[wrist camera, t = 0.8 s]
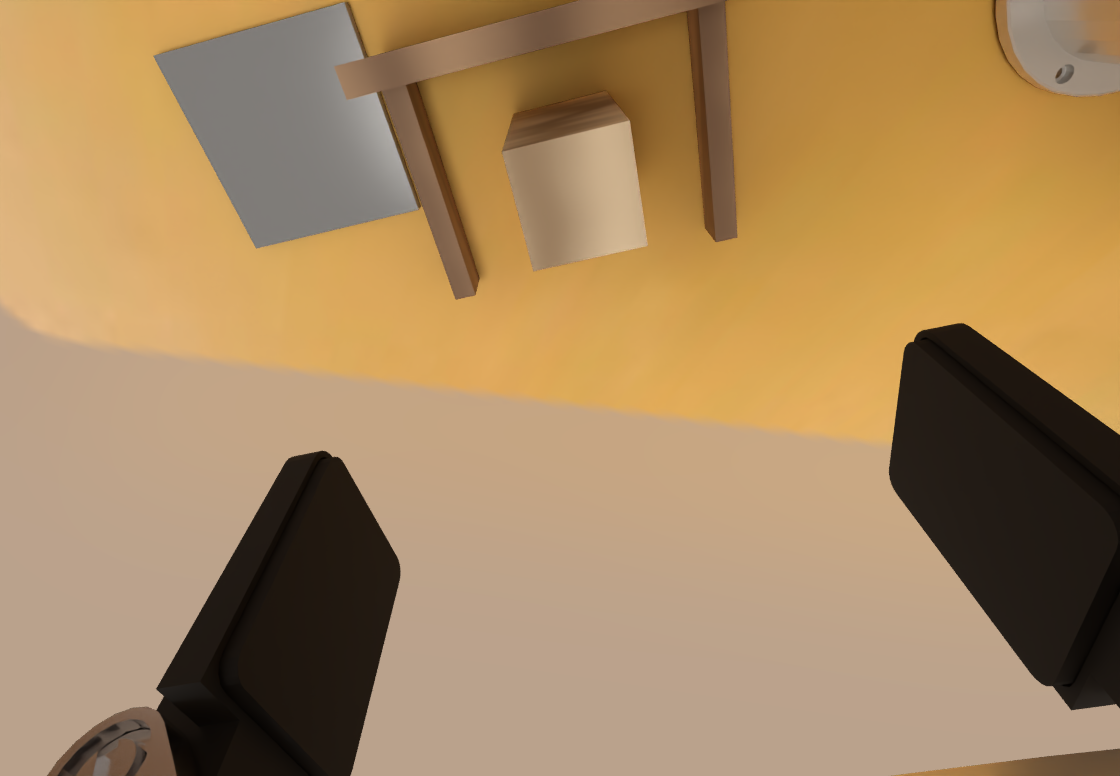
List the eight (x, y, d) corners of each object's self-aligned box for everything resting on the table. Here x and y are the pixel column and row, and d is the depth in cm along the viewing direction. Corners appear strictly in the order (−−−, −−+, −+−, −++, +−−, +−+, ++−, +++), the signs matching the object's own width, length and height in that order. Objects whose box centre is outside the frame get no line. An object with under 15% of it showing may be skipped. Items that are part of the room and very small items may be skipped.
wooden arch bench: (708, -34, 27) (763, -50, 20) (725, 223, 34) (770, 275, 27) (382, 54, 29) (333, 66, 22) (460, 282, 36) (441, 345, 29)
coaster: (347, 2, 28) (344, 2, 27) (420, 206, 33) (418, 209, 32) (160, 55, 28) (153, 56, 28) (260, 244, 34) (256, 248, 33)
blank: (605, 90, 30) (629, 120, 22) (621, 186, 33) (647, 245, 24) (513, 113, 30) (501, 151, 22) (536, 206, 33) (533, 271, 25)
